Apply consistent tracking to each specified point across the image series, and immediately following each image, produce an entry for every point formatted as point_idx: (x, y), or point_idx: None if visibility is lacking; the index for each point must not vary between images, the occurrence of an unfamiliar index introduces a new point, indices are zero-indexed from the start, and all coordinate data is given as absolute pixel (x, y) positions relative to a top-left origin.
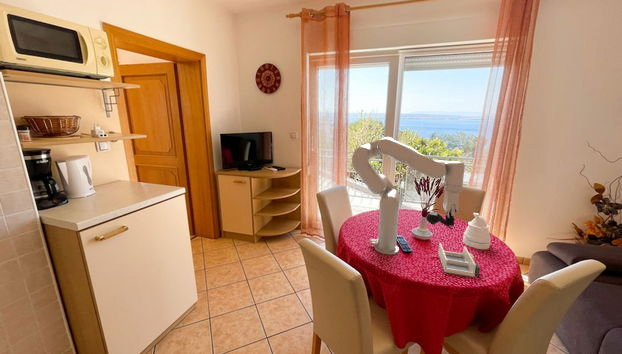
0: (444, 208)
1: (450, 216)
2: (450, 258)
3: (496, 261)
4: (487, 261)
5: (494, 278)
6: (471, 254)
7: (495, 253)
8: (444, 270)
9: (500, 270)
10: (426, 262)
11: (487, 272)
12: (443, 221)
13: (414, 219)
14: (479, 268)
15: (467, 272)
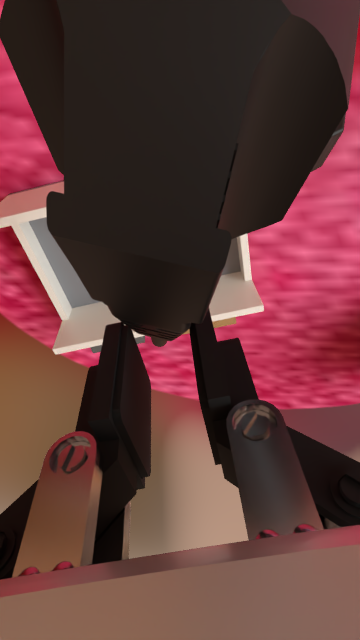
0: (92, 629)
1: (13, 513)
2: None
3: (266, 374)
4: (251, 351)
5: None
6: (220, 323)
7: (340, 373)
8: (13, 195)
9: (195, 381)
10: None
11: (151, 350)
12: (111, 312)
13: None
14: (93, 348)
15: (52, 300)
